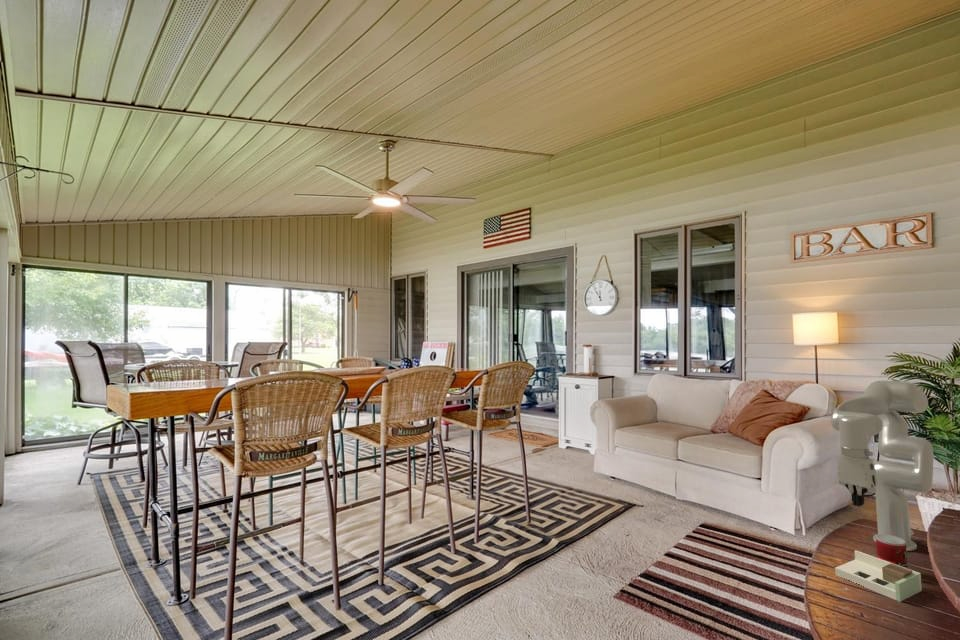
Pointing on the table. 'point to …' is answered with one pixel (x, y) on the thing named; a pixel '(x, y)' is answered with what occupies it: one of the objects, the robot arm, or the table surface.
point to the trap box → (878, 577)
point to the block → (894, 573)
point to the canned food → (891, 549)
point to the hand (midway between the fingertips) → (858, 505)
